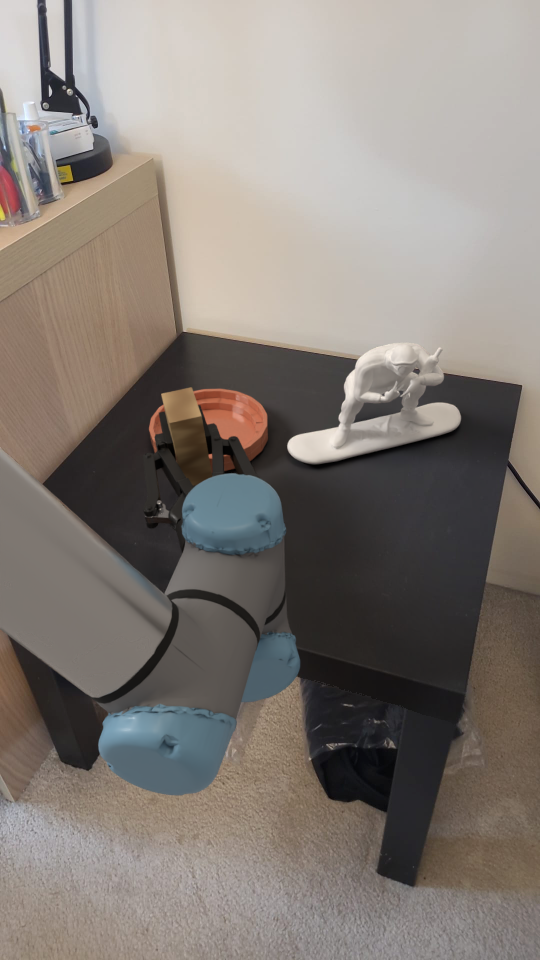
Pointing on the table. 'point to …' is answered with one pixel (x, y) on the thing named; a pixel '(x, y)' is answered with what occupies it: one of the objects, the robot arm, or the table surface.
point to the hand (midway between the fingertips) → (180, 417)
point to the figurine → (365, 384)
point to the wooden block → (187, 434)
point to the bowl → (228, 420)
